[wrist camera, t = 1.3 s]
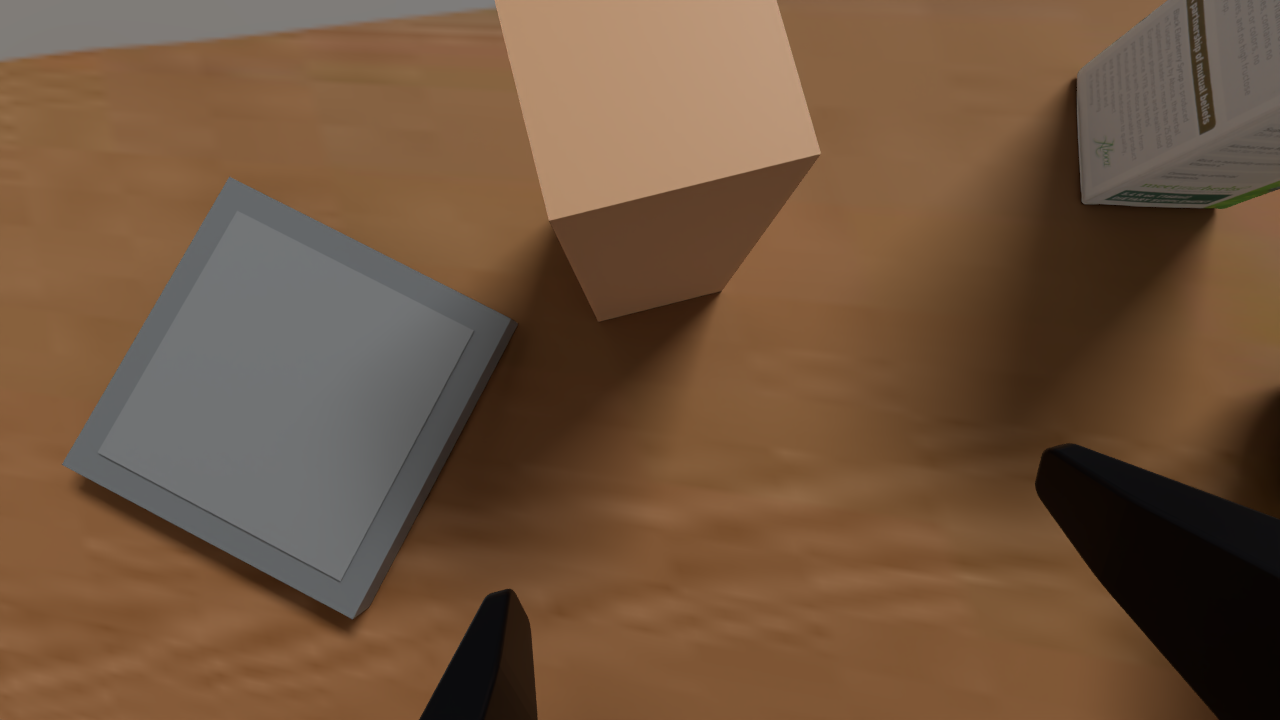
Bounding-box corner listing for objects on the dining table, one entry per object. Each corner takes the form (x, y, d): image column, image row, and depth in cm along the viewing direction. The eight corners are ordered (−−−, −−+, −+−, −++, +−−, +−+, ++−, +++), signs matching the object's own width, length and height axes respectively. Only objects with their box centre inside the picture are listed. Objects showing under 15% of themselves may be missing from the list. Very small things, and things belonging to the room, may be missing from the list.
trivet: (369, 606, 21) (351, 620, 20) (94, 461, 21) (59, 464, 20) (518, 323, 22) (510, 318, 20) (251, 189, 22) (227, 175, 21)
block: (721, 290, 22) (821, 153, 10) (598, 321, 22) (548, 220, 10) (689, 171, 22) (748, -99, 10) (568, 201, 22) (485, -37, 10)
